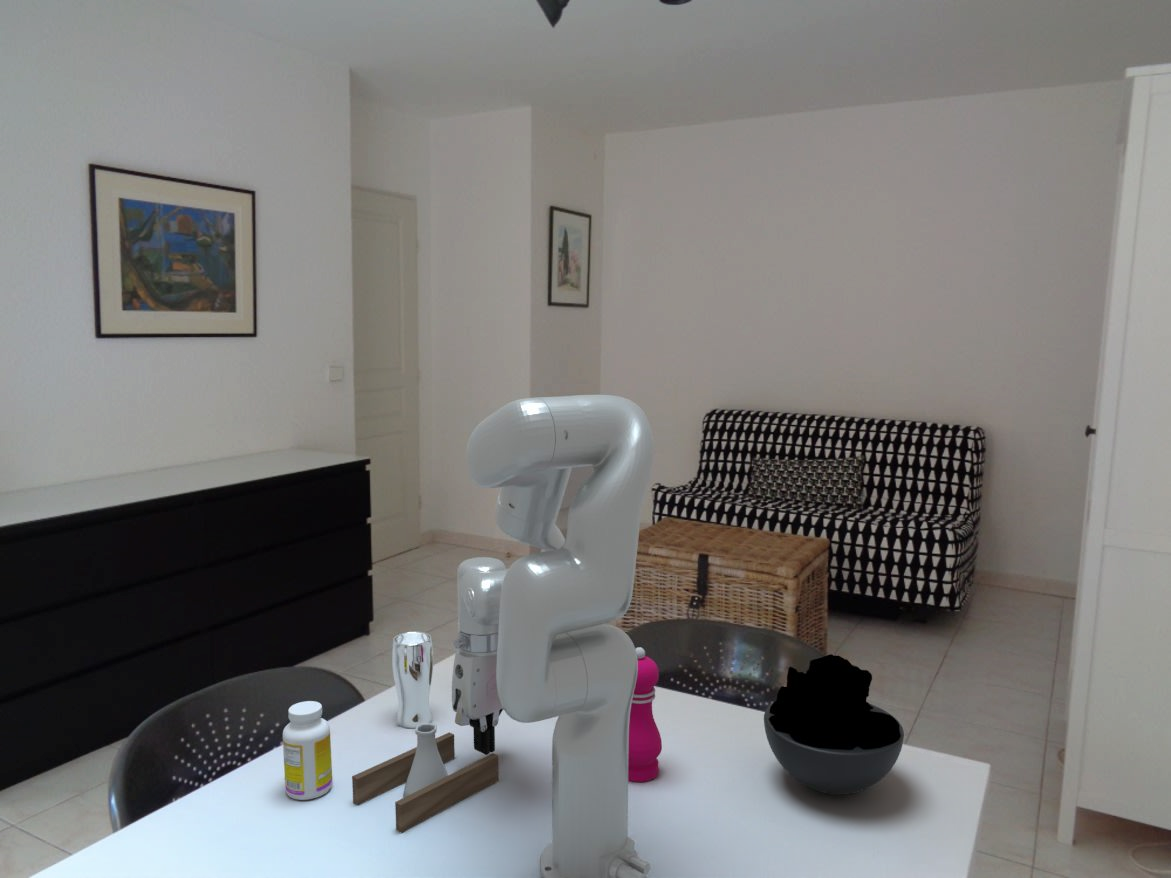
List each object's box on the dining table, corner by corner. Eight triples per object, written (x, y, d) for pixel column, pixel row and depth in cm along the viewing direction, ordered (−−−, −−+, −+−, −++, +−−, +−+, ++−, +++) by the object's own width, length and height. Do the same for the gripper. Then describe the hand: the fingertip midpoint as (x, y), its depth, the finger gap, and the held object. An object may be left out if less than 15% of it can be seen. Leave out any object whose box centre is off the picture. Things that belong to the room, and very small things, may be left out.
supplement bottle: (332, 775, 131) (328, 695, 129) (333, 797, 124) (330, 714, 123) (285, 782, 129) (282, 701, 127) (284, 805, 122) (280, 720, 121)
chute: (498, 780, 129) (498, 755, 129) (401, 832, 116) (400, 805, 115) (449, 755, 137) (449, 732, 136) (353, 802, 123) (352, 776, 123)
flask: (441, 807, 122) (440, 741, 121) (394, 802, 123) (392, 736, 122) (459, 781, 129) (458, 718, 128) (414, 776, 130) (412, 714, 129)
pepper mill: (606, 776, 130) (607, 651, 128) (626, 756, 137) (627, 636, 134) (650, 788, 127) (651, 660, 124) (668, 766, 133) (670, 644, 131)
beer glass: (390, 716, 151) (387, 634, 149) (428, 708, 153) (427, 628, 152) (398, 733, 144) (396, 647, 142) (439, 725, 147) (437, 641, 145)
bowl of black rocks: (895, 761, 135) (901, 647, 133) (906, 833, 116) (913, 701, 113) (766, 745, 140) (769, 635, 138) (757, 810, 121) (760, 684, 119)
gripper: (461, 658, 124) (463, 777, 126) (534, 631, 135) (534, 741, 137) (428, 645, 129) (431, 760, 131) (501, 620, 140) (503, 726, 142)
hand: (484, 750), depth 134 cm, fingers closed
